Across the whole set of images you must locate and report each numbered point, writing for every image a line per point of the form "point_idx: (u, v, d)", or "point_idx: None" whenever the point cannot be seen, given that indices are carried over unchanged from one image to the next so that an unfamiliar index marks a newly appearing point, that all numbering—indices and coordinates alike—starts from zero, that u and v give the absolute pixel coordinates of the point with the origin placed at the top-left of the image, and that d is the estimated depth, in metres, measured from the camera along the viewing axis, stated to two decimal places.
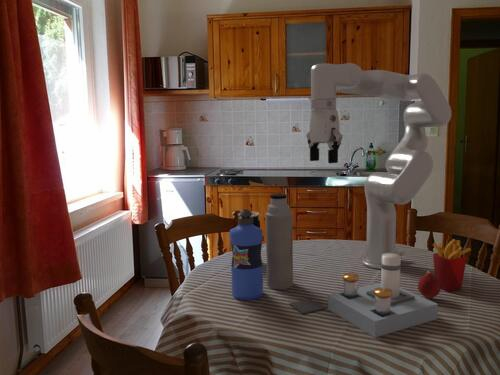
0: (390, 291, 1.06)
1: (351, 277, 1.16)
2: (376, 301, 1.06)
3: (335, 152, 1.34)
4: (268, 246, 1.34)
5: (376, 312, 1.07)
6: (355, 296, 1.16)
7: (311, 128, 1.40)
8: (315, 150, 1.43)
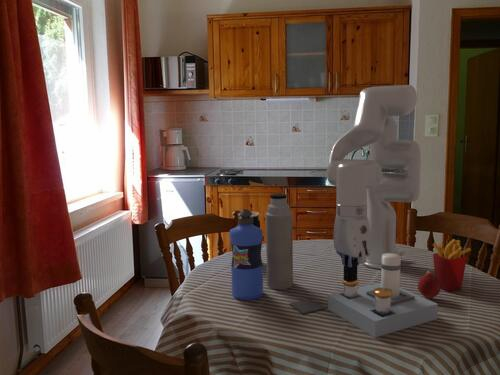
0: (390, 291, 1.06)
1: (351, 282, 1.16)
2: (376, 301, 1.06)
3: (354, 269, 1.15)
4: (268, 246, 1.34)
5: (376, 312, 1.07)
6: None
7: (336, 235, 1.17)
8: None
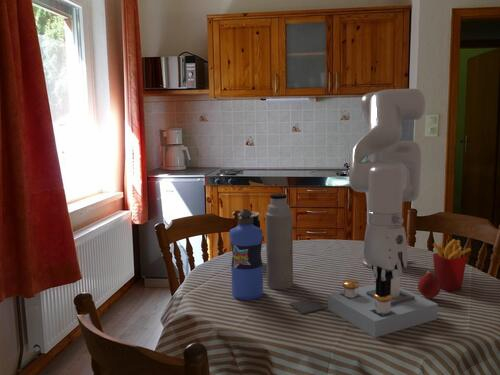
0: (390, 295, 1.06)
1: (351, 284, 1.16)
2: (376, 305, 1.06)
3: (388, 283, 1.05)
4: (268, 246, 1.34)
5: None
6: None
7: (367, 245, 1.07)
8: None
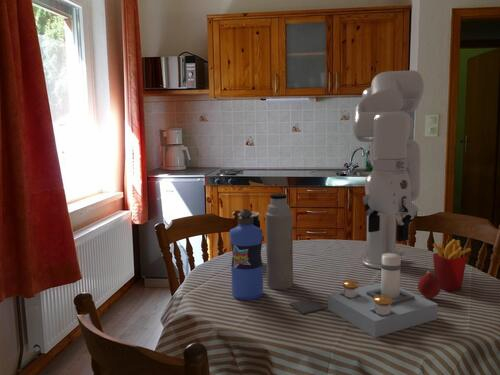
0: (390, 299, 1.06)
1: (351, 284, 1.16)
2: (376, 308, 1.07)
3: (406, 228, 1.03)
4: (268, 246, 1.34)
5: None
6: None
7: (372, 193, 1.09)
8: (375, 219, 1.12)
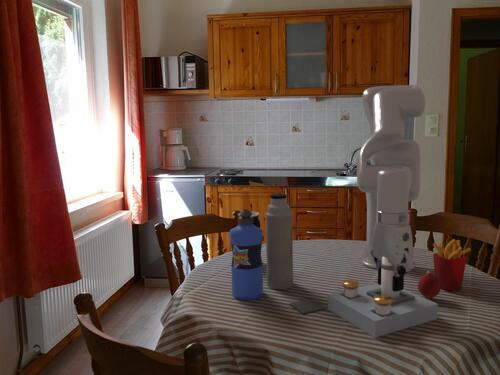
0: (390, 299, 1.06)
1: (351, 284, 1.16)
2: (376, 308, 1.07)
3: (401, 279, 1.12)
4: (268, 246, 1.34)
5: None
6: None
7: (375, 242, 1.16)
8: None
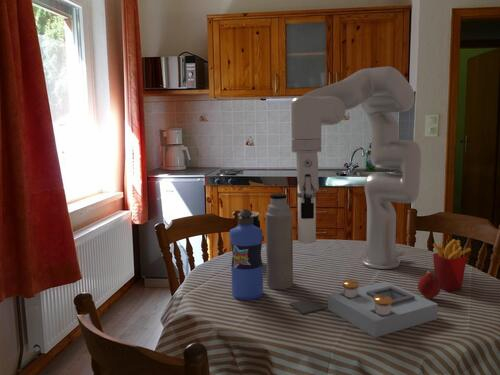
0: (390, 299, 1.06)
1: (351, 284, 1.16)
2: (376, 308, 1.07)
3: (308, 206, 1.13)
4: (268, 246, 1.34)
5: None
6: None
7: None
8: None
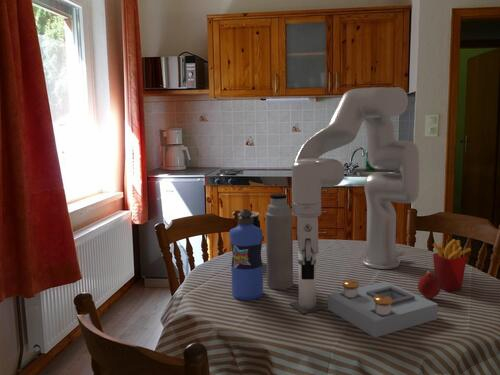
0: (390, 299, 1.06)
1: (351, 284, 1.16)
2: (376, 308, 1.07)
3: (308, 268, 1.14)
4: (268, 246, 1.34)
5: None
6: None
7: None
8: None
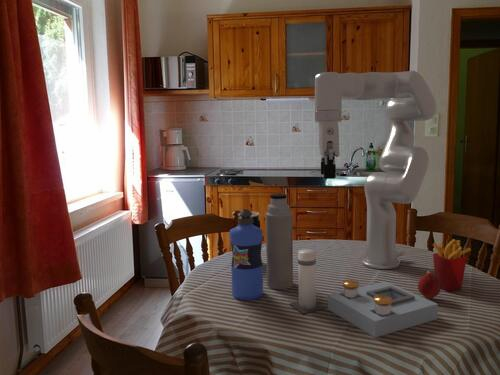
0: (390, 299, 1.06)
1: (351, 284, 1.16)
2: (376, 308, 1.07)
3: (330, 167, 1.25)
4: (268, 246, 1.34)
5: None
6: None
7: None
8: None
